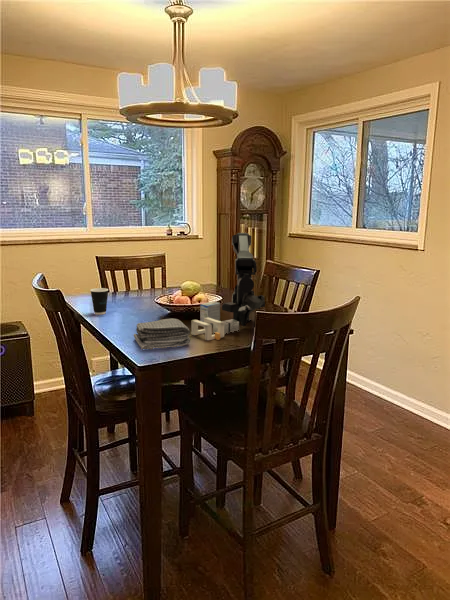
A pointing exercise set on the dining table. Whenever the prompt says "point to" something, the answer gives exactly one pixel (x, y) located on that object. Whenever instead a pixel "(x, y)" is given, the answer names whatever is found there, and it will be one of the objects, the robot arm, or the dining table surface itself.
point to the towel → (162, 334)
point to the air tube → (228, 326)
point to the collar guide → (208, 328)
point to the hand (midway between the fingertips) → (243, 325)
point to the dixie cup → (99, 300)
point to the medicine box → (210, 311)
